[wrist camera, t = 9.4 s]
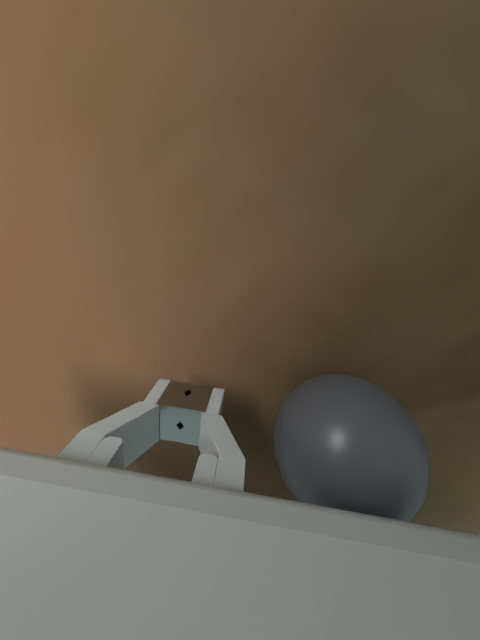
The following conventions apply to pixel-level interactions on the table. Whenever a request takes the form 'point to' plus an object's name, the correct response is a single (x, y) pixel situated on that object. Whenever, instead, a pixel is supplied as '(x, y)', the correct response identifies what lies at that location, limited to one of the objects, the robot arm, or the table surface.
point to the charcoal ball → (351, 448)
